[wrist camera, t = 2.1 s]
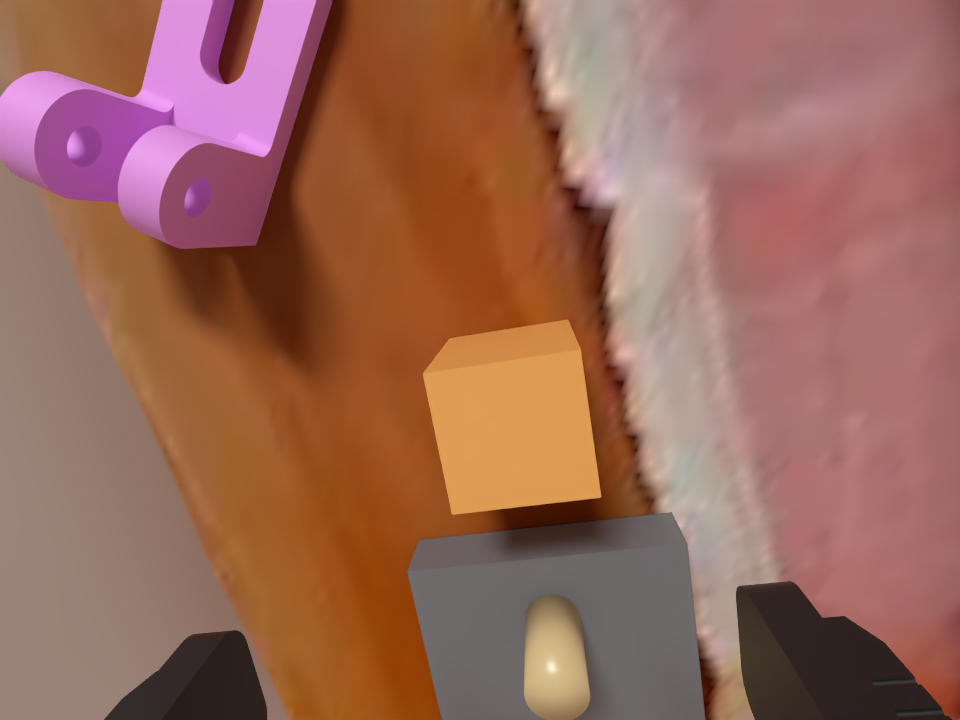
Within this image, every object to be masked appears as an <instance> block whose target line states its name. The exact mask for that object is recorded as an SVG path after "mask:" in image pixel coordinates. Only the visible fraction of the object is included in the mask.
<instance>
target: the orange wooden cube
mask: <svg viewBox="0 0 960 720" xmlns="http://www.w3.org/2000/svg"><path fill="white" fill-rule="evenodd" d="M423 377H424V382H425V386H426V391H427V396H428V401H429V406H430V410H431V415H432V420H433V425H434V430H435V434H436V439H437V444H438V449H439V454H440V458H441V463H442V468H443V473H444V478H445V483H446V487H447V492H448V497H449V502H450V507H451V511H452V515H454V514H463V513H471V512H480V511H489V510H498V509H506V508H515V507H524V506H533V505H541V504H550V503H559V502H568V501H576V500H585V499H594V498H601V491H600V484H599V477H598V470H597V463H596V455H595V448H594V441H593V434H592V427H591V419H590V412H589V405H588V398H587V391H586V384H585V376H584V369H583V362H582V355H581V349H580V347H579V344H578V342H577V340H576V337H575V335H574V332H573V330H572V328H571V325H570V323H569V321H568V320H562V321H556V322H549V323H543V324H537V325H530V326H524V327H518V328H512V329H505V330H499V331H493V332H487V333H480V334H474V335H468V336H461V337H455V338H450V339H449V340H448V341H447V343H446V344H445V345H444V347H443V348H442V349H441V351H440V352H439V353H438V354H437V356H436V357H435V358H434V360H433V361H432V362H431V364H430V365H429V366H428V368H427V369H426V370H425V371H424V373H423Z"/></svg>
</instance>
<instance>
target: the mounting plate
mask: <svg viewBox="0 0 960 720" xmlns="http://www.w3.org/2000/svg"><path fill="white" fill-rule="evenodd" d="M407 573H408V577H409V581H410V585H411V590H412V594H413V598H414V602H415V607H416V611H417V615H418V620H419V624H420V628H421V632H422V637H423V641H424V645H425V649H426V654H427V658H428V662H429V666H430V671H431V675H432V679H433V684H434V688H435V692H436V696H437V701H438V705H439V709H440V713H441V718H442V720H705V712H704V702H703V692H702V683H701V673H700V663H699V653H698V644H697V634H696V624H695V615H694V605H693V595H692V585H691V576H690V566H689V556H688V546H687V542H686V540H685V538H684V536H683V534H682V532H681V530H680V528H679V526H678V524H677V522H676V520H675V518H674V516H673V514H672V512H671V513H662V514H653V515H643V516H634V517H625V518H616V519H607V520H598V521H588V522H579V523H570V524H561V525H552V526H542V527H533V528H524V529H515V530H506V531H497V532H487V533H478V534H469V535H460V536H451V537H442V538H432V539H423V540H419V541H418V544H417V547H416V549H415V552H414V555H413V558H412V560H411V563H410V566H409V569H408V571H407Z"/></svg>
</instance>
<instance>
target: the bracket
mask: <svg viewBox="0 0 960 720" xmlns="http://www.w3.org/2000/svg"><path fill="white" fill-rule="evenodd" d="M234 1H235V0H163V2H162V6H161V10H160V15H159V19H158V23H157V27H156V31H155V36H154V40H153V44H152V48H151V53H150V57H149V61H148V65H147V69H146V74H145V78H144V82H143V86H142V89H141V91H140V93H139V94H138V95H137V96H135V97H132V98H131V97H127V96H124V95H121V94H118V93H115V92H112V91H109V90H106V89H103V88H100V87H97V86H94V85H91V84H88V83H85V82H82V81H79V80H76V79H73V78H70V77H67V76H64V75H61V74H58V73H55V72H49V71H38V72H33V73H29V74H27V75H24V76H22V77H20V78H19V79H17V80H16V81H14V82H13V83H12V84H11V85H10V86H9V87H8V88H7V89H6V90H5V92H4V93H3V94H2V96H1V98H0V159H1V160H2V162H3V163H4V164H5V165H6V167H7V168H8V169H9V170H10V171H11V172H13V173H14V174H15V175H17V176H18V177H20V178H23V179H24V180H27V181H29V182H31V183H33V184H36V185H38V186H40V187H42V188H44V189H47V190H49V191H51V192H53V193H56V194H58V195H60V196H62V197H65V198H69V199H78V200H92V201H106V202H119V207H120V210H121V213H122V215H123V217H124V219H125V220H126V222H127V223H128V224H129V225H130V226H131V227H133V228H134V229H136V230H138V231H140V232H142V233H145V234H147V235H149V236H151V237H154V238H156V239H158V240H160V241H162V242H165V243H167V244H169V245H171V246H174V247H176V248H180V249H192V248H213V247H234V246H255V245H257V241H258V238H259V235H260V232H261V229H262V225H263V222H264V219H265V216H266V213H267V209H268V206H269V203H270V200H271V197H272V193H273V190H274V187H275V184H276V181H277V177H278V174H279V171H280V168H281V165H282V161H283V158H284V155H285V152H286V149H287V145H288V142H289V139H290V136H291V133H292V129H293V126H294V123H295V120H296V117H297V114H298V110H299V107H300V104H301V101H302V98H303V94H304V91H305V88H306V85H307V82H308V78H309V75H310V72H311V69H312V66H313V62H314V59H315V56H316V53H317V50H318V46H319V43H320V40H321V37H322V34H323V30H324V27H325V24H326V21H327V18H328V14H329V11H330V8H331V5H332V2H333V0H264V3H263V7H262V10H261V14H260V17H259V21H258V24H257V28H256V32H255V35H254V39H253V42H252V46H251V49H250V53H249V56H248V60H247V63H246V67H245V70H244V72H243V74H242V76H241V77H240V78H239V79H238V80H237V81H235V82H233V83H231V84H225V83H224V82H223V80H222V78H221V76H220V73H219V68H218V63H219V57H220V54H221V50H222V46H223V42H224V39H225V35H226V31H227V27H228V24H229V20H230V16H231V13H232V9H233V5H234Z"/></svg>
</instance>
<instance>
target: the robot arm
mask: <svg viewBox="0 0 960 720" xmlns="http://www.w3.org/2000/svg"><path fill="white" fill-rule="evenodd" d="M736 603H737V616H738V629H739V642H740V655H741V668H742V676H743V682H744V686H745V691H746V694H747V698H748V701H749V704H750V707H751V710H752V713H753V716H754V718H755V720H952V719H951V718H950V717H949V716H945V715H944V713H943V711H942V708H941V707H940V705H939V704H938V703H937V702H936V701H935V700H934V699H933V697H932V696H931V695H930V694H929V693H928V692H927V691H926V689H925V688H924V687H923V686H922V685H918V684H917V682H916V680H915V677H914V676H913V675H912V673H911V672H910V671H909V670H908V669H907V668H906V667H905V666H904V664H903V663H902V662H901V661H900V660H899V659H898V658H897V656H896V655H895V654H894V653H893V652H892V651H891V650H890V648H889V647H888V646H887V645H886V644H885V643H884V642H883V641H881V640H880V639H878V638H877V637H875V636H874V635H872V634H870V633H869V632H867V631H866V630H864V629H863V628H861V627H860V626H858V625H857V624H855V623H854V622H852V621H851V620H849V619H848V618H846V617H845V616H841V617H828V618H822V617H821V615H820V614H819V613H818V612H817V610H816V609H815V608H814V606H813V605H812V604H811V602H810V601H809V600H808V599H807V597H806V596H805V595H804V593H803V592H802V591H801V590H800V588H799V587H798V586H797V585H796V584H795V583H793V582H778V583H767V584H756V585H745V586H739V587H738V588H737V591H736ZM104 720H267V707H266V703H265V699H264V696H263V693H262V689H261V686H260V683H259V680H258V676H257V673H256V670H255V667H254V664H253V660H252V657H251V654H250V651H249V648H248V644H247V641H246V639H245V637H244V635H243V634H242V633H241V632H239V631H236V630H234V631H223V632H214V633H213V632H212V633H201V634H193V635H191V636H189V637H188V638H186V639H185V640H184V641H183V642H182V643H181V645H180V646H179V647H178V648H177V650H176V651H175V652H174V653H173V654H172V655H171V657H170V658H169V659H168V660H167V661H166V662H165V664H164V665H163V666H162V667H161V669H160V670H159V671H157V672H155V673H154V674H153V675H151V676H150V677H149V678H148V679H146V680H145V681H144V682H143V683H142V684H140V685H139V686H138V687H136V688H135V689H134V690H133V691H131V692H130V693H129V694H128V695H126V696H125V697H124V698H123V699H122V700H121V701H120V702H119V703H118V704H117V705H116V706H115V708H114V709H113V710H112V711H111V712H110V713H109V714H108V716H107V717H106V718H105V719H104Z"/></svg>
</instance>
